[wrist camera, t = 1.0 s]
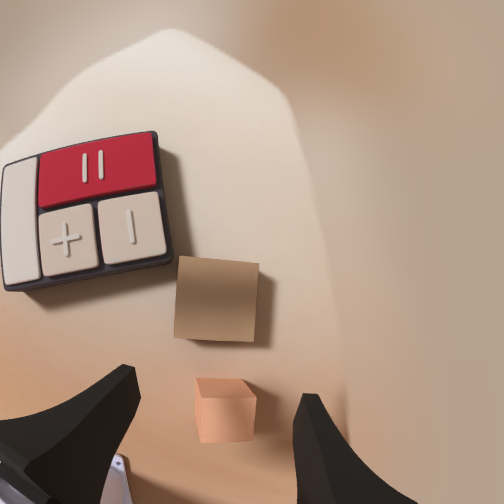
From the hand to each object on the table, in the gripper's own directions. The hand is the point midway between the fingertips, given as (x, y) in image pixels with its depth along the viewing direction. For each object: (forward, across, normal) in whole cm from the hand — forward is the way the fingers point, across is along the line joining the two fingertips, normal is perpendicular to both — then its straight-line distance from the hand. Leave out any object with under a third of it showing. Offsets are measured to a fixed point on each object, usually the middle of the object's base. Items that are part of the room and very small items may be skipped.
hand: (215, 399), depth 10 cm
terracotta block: (+9, +1, +10) cm, 13 cm away
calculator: (+12, +14, -4) cm, 19 cm away
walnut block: (+12, +2, +2) cm, 13 cm away
